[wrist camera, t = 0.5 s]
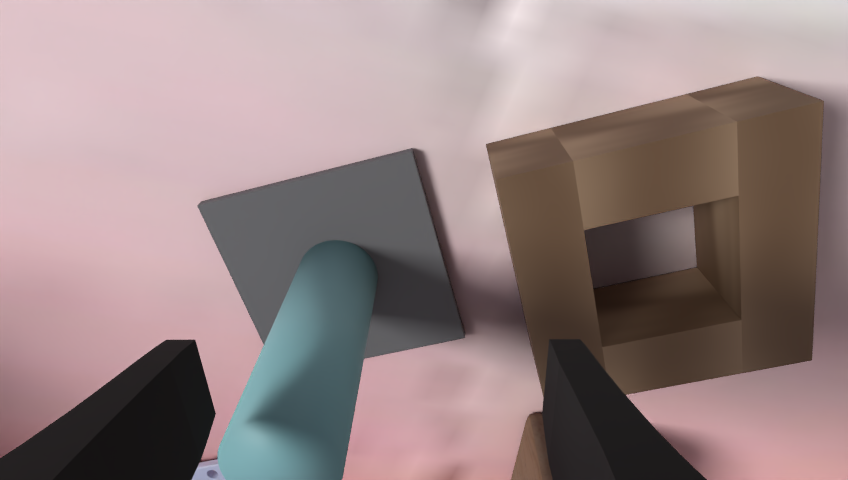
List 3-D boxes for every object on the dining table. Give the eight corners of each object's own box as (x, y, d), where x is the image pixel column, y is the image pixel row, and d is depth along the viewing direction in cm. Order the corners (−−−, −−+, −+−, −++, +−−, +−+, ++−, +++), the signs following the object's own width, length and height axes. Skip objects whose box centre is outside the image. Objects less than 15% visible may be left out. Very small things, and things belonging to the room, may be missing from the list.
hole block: (531, 348, 23) (546, 409, 20) (485, 144, 20) (495, 179, 16) (759, 303, 22) (811, 360, 19) (757, 76, 18) (823, 100, 15)
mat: (281, 369, 24) (278, 375, 24) (201, 201, 21) (197, 205, 20) (464, 332, 23) (464, 337, 23) (412, 148, 20) (411, 151, 19)
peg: (314, 315, 22) (246, 516, 14) (287, 250, 21) (196, 430, 13) (387, 299, 22) (360, 497, 14) (364, 232, 21) (319, 406, 13)
